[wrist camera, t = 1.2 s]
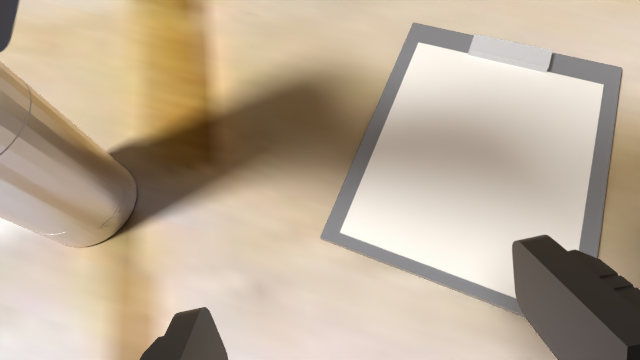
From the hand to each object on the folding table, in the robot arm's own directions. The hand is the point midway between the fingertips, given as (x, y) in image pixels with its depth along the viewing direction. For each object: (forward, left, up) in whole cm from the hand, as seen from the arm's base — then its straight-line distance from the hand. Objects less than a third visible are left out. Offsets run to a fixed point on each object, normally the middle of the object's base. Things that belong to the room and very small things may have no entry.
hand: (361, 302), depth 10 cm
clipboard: (+4, +21, -23) cm, 32 cm away
